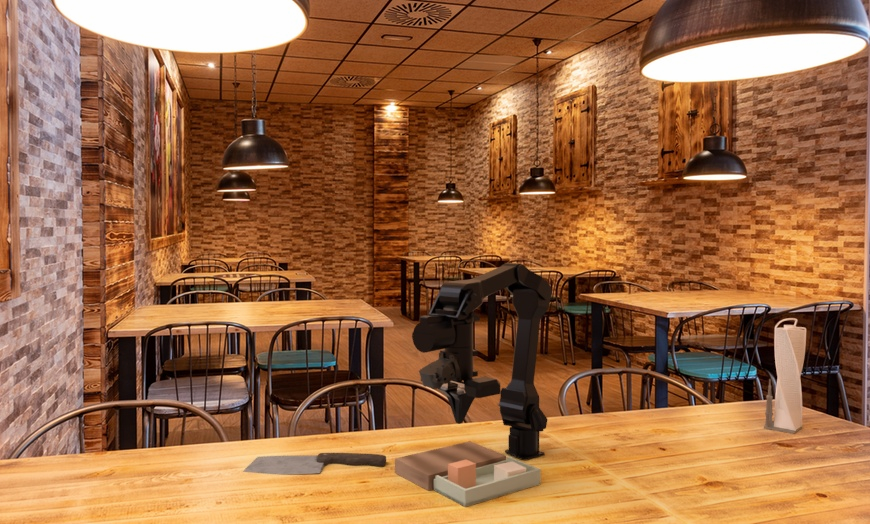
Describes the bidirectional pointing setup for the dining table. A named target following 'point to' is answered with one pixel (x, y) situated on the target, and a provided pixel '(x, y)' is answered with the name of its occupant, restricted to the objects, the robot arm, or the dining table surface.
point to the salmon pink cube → (462, 473)
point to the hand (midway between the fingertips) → (459, 423)
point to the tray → (488, 484)
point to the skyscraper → (787, 379)
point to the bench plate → (442, 462)
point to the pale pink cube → (507, 470)
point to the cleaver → (311, 462)
